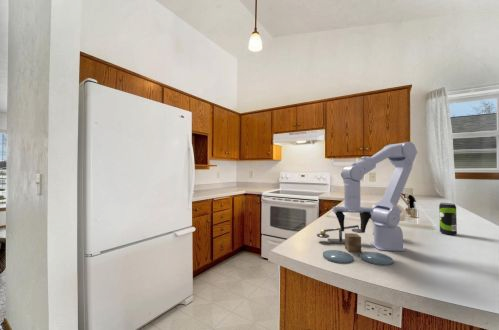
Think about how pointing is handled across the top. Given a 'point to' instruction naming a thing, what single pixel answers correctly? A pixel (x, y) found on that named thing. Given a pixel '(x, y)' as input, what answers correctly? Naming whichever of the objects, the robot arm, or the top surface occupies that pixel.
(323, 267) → the top surface
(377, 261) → the dish
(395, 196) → the robot arm
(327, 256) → the dish
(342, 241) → the balance
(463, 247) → the top surface
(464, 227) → the top surface
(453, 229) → the beverage can
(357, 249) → the walnut block
